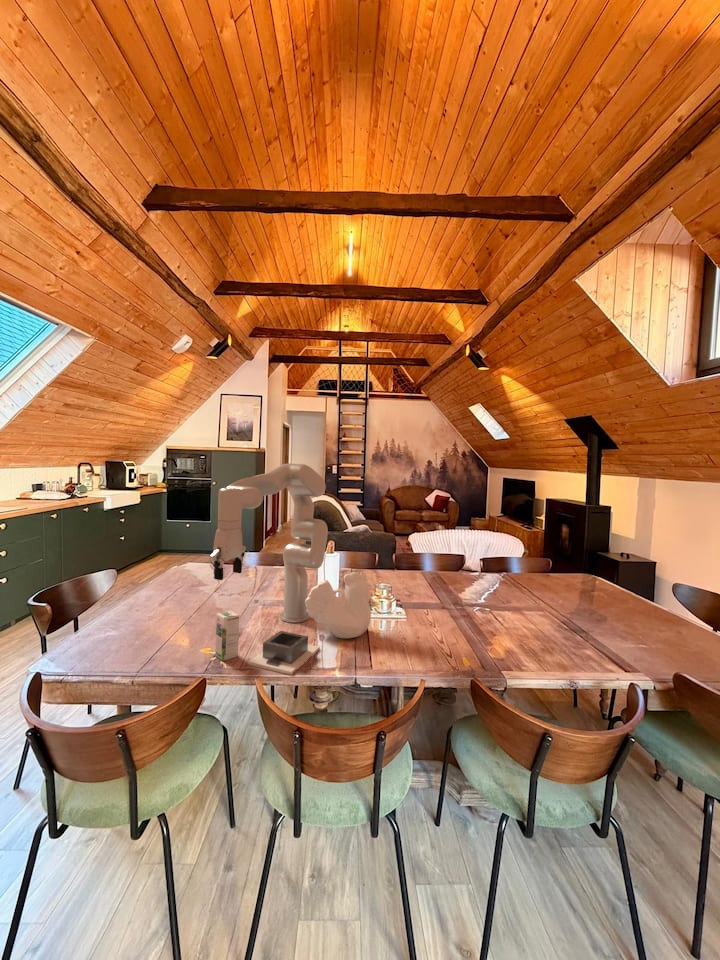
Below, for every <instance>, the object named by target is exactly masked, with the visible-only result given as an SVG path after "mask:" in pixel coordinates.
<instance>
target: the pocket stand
mask: <svg viewBox="0 0 720 960" xmlns="http://www.w3.org/2000/svg"><path fill="white" fill-rule="evenodd" d="M320 648H321V646H318V645H312V644H309V636H307V635H303V634H297V633H294V632H288V631H284V630H283V631H282V630H280V631H278V632H277V633H275V634H274V635H272V636H271V637H269V638H267V639H266V640H265V641H262V651H261V652H259V653H258V654H257V655H256V656H254V657H252V658H250V660H248V662H247V663H248V664H249V666H253V667H258V668H260V669H261V668H262V669H265V670H269V671H273V672H276V673H281V674H285V673H286V674H285V675H289V674H290V676H292V675H294V673H295V672H296V671H297V670H296V669H298V668H299V667H300V666H301V665H302V664H303V663H304V662H305V663H307V662H308V661H309V660H310V659H311V658H312V657H314V655H315V654H317V653H318V652H319V651H320V650H319V649H320ZM318 650H319V651H318ZM317 651H318V652H317ZM316 652H317V653H316ZM311 656H312V657H311ZM310 657H311V658H310ZM309 658H310V659H309ZM308 659H309V660H308ZM307 660H308V661H307ZM305 663H304V664H305ZM248 664H247V665H248ZM304 664H303V665H304ZM303 665H302V666H303ZM302 666H301V667H302ZM301 667H300V668H301ZM300 668H299V669H300ZM299 669H298V670H299ZM295 670H296V671H295ZM294 671H295V672H294ZM293 672H294V673H293Z"/></svg>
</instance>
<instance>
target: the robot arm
mask: <svg viewBox="0 0 720 960" xmlns="http://www.w3.org/2000/svg"><path fill="white" fill-rule="evenodd" d="M326 487H327V485H326V481H325V479H324V478H323V477H322V476H321V475H320V474H319V473H318V472H317V471H316V470H314V469H313V468H312V467H311V466H309V465H307V464H304V463H283V464H281V465H279V466H277V467H275V468H273V469H271V470H270V471H267V472H266V473H261V474H258V475H253V476H250V477H245V478H242V479H238V480H236V481H235V482H233V483H231V484H229V485H228V486H226V487H222V488H220V489H219V491H218V501H217V502H218V505H217V529H216V531H215V535H214V540H213V548H212V549H213V551H212V553H211V554H210V555H209V558H210V561H211V562H210V563H211V565H212V567H213V579H214V580H217V581H223V580H224V567H223V566H224V564H225V562H226V561H231V560H233V561H232V562H233V563H232V572H233V573H235V574H241V573H242V571H243V568H242V567H243V561H244V557H245V552H246V549H247V547H246V546H245V545H243V531H242V516H243V515H242V514H243V509H248V510H249V509H250V510H253V509H256V508H258V507H260V506H261V504H262V503H263V501H264V496H270V495H276V494H277V493H280V491H282V490H284V489H286V488H287V491H288V493H289V494H290V496H291V498H292V501H293V513H292V520H291V525H290V535H291V537H292V538H293V539H295V540H300V541H305V542H311V543H310V544H309V543H300V542H290V543H288V544H287V545H285V546H284V548H283V551H282V559H283V564H284V565H283V566H284V590H283V591H284V594H283V611H282V612H281V613H280V614H279V619H280V620H281V621H282V622H285V623H286V622H287V623H295V624H296V623H302V622H306V621H308V620H309V619H311V617H310V616H309V614H308V611H307V608H306V603H305V600H306V598H307V597H308V581H309V580H308V572H307V569H310V570H311V569H312V570H318V569H319V568H320V567H322V565H323V563H324V560H325V554H326V549H327V548H326V547H327V542H328V535H329V534H328V532H329V529H328V524H327V523H326V522H325V520H323V519H318V518H314V513H315V512H314V511H315V505H314V502H313V499H312V498H311V497H313V498H319V497H321V496H323V495H324V493H326V492H325V491H326Z"/></svg>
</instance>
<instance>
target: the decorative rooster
mask: <svg viewBox="0 0 720 960" xmlns="http://www.w3.org/2000/svg"><path fill="white" fill-rule="evenodd" d="M343 581H344V584H345V587H344V589H342V588H340V587H339V588H336V589H333V587H332V584H331V583H330V582H329V580H327V579H324V580H322V581H319V582H318V584H317V585H315V586H313V587H312V588H311V589H310V592H309V593H308V594H307V598H306V600H305V603H306V608H307V612H308V614H309V616H310V619H311V618H312V619H314V621H315V622H316V623H318V624H324V626H325V627H326V628H327V629H328V631H330V632H331V633H332V635H334V637H336V638H339V639H352V638H357V637H360V636H361V635H363V634H364V633H365V632H366V631H367V629H368V628H369V626H370V623H371V618H372V616H371V614H372V611H371V607H370V604H369V602H370V590H371V588H372V587H373V585H372V584H371V583H368V582H367V574H366V573H364V572H363V573H362V572H358V571H352V572H350V573H345V574H344V576H343ZM337 593H340V594H341V596H337Z"/></svg>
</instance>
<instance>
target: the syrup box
mask: <svg viewBox="0 0 720 960" xmlns="http://www.w3.org/2000/svg"><path fill="white" fill-rule="evenodd" d="M215 623H216V624H215V625H216V626H215V654H214V655H215V657H217V658H219V659H220V660H221V662H225V661H227V660H231V659H233V658H237V657H238V656H239V638H240V637H239V636H240V635H239V633H240V631H239V630H240V614H237V612H235V611H233V610H225V611H221V612H218V613H216V622H215Z"/></svg>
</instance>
